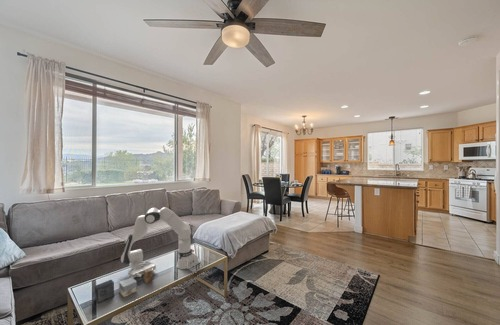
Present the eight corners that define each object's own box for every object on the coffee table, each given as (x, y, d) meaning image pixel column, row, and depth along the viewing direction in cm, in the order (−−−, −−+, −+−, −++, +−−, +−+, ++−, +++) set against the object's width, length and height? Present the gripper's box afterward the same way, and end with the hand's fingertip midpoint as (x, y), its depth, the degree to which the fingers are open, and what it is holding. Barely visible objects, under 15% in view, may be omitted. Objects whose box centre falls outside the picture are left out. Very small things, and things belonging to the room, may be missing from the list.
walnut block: (149, 278, 175) (149, 268, 175) (152, 280, 172) (152, 270, 172) (143, 281, 172) (143, 270, 171) (146, 283, 168) (146, 272, 168)
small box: (111, 292, 156) (111, 278, 156) (114, 296, 152) (114, 282, 152) (94, 299, 148) (94, 285, 148) (97, 303, 144) (97, 289, 144)
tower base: (132, 287, 164) (132, 282, 164) (136, 291, 158) (136, 286, 158) (119, 292, 157) (119, 287, 157) (123, 297, 151) (123, 292, 151)
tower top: (132, 282, 164) (132, 277, 164) (136, 286, 158) (136, 281, 158) (119, 287, 157) (119, 282, 157) (123, 292, 151) (123, 287, 151)
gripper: (127, 269, 175) (133, 275, 166) (151, 260, 190) (158, 265, 181) (127, 276, 175) (133, 283, 166) (151, 267, 190) (158, 272, 181)
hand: (146, 273), depth 173 cm, fingers open, 8 cm apart
